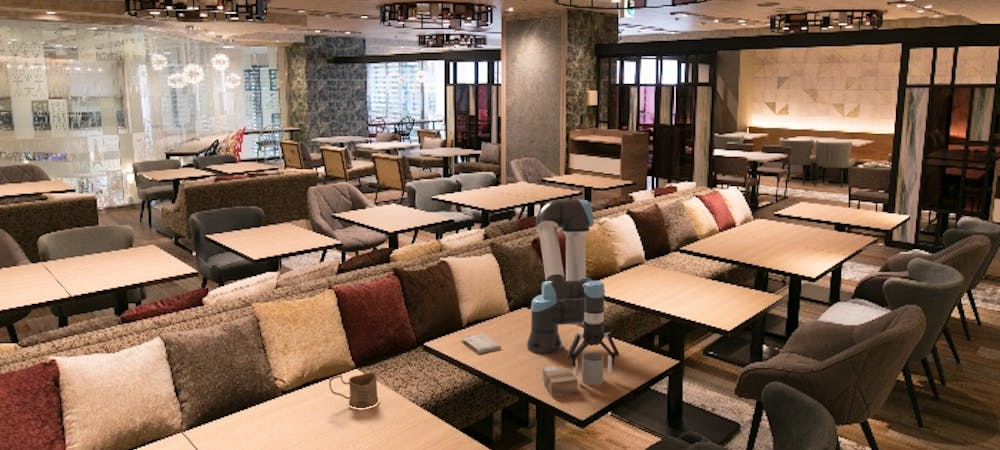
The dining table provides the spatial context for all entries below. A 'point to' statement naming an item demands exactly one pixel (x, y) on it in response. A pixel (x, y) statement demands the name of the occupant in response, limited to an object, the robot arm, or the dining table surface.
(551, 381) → the walnut block
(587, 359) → the cup
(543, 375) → the grey block
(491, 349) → the washcloth
